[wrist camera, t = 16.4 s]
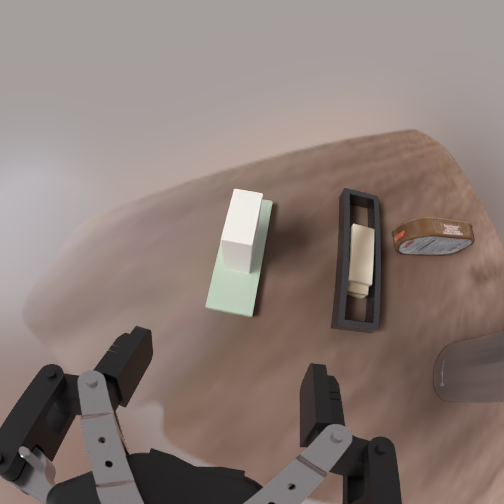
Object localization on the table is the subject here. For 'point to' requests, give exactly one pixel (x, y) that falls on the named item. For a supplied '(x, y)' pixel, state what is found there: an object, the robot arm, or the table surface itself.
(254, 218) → the white rectangular block
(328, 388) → the robot arm
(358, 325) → the frame
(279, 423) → the table surface
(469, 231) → the tin
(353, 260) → the offcut stack
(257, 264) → the board
